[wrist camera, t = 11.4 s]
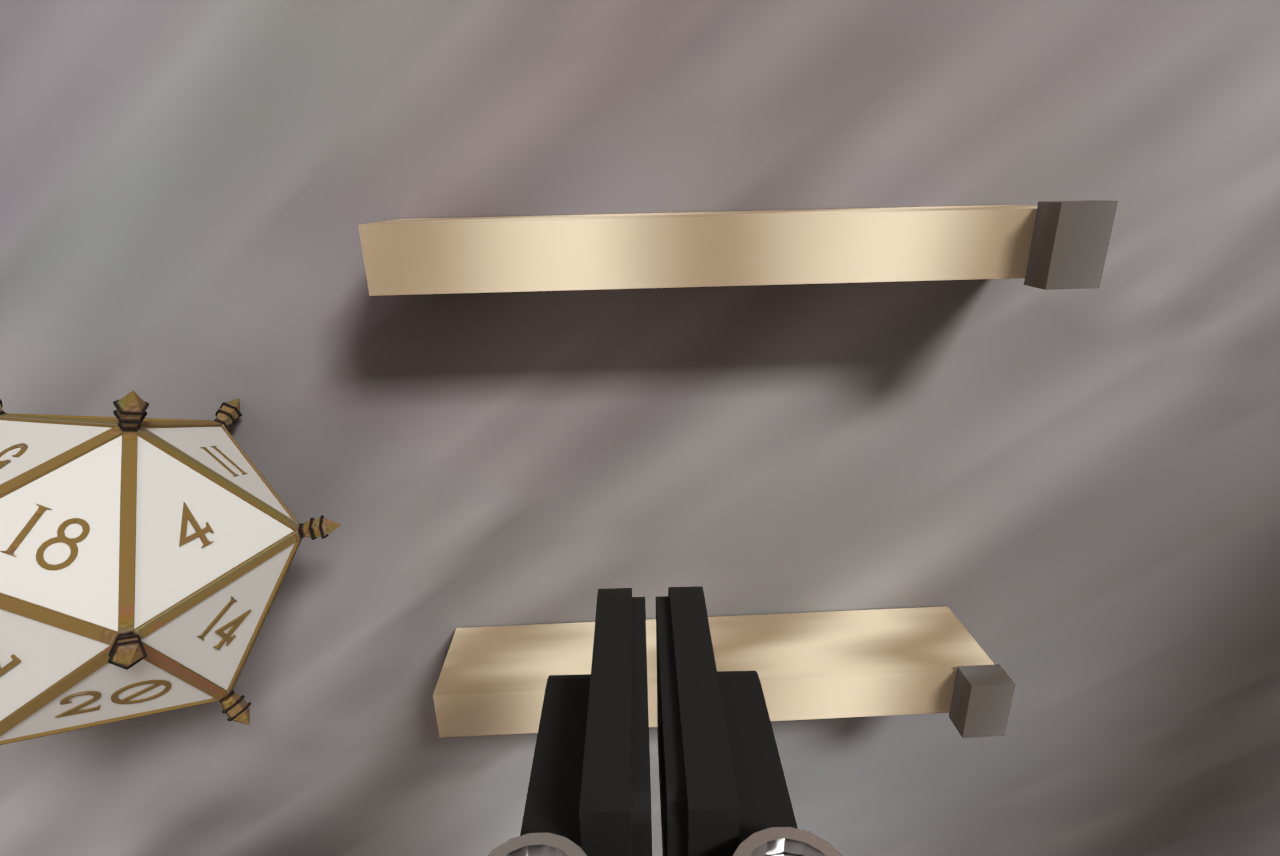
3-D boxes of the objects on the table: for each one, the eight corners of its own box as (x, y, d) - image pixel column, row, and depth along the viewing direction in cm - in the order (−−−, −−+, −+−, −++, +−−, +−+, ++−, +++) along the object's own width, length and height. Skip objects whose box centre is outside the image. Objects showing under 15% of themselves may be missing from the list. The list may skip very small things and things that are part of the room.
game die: (320, 416, 22) (444, 507, 15) (211, 651, 22) (283, 866, 14) (-34, 292, 16) (-118, 341, 9) (-198, 612, 16) (-431, 944, 8)
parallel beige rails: (1013, 198, 17) (1117, 201, 14) (940, 648, 22) (1004, 735, 19) (399, 212, 17) (342, 218, 13) (462, 670, 22) (432, 764, 18)
